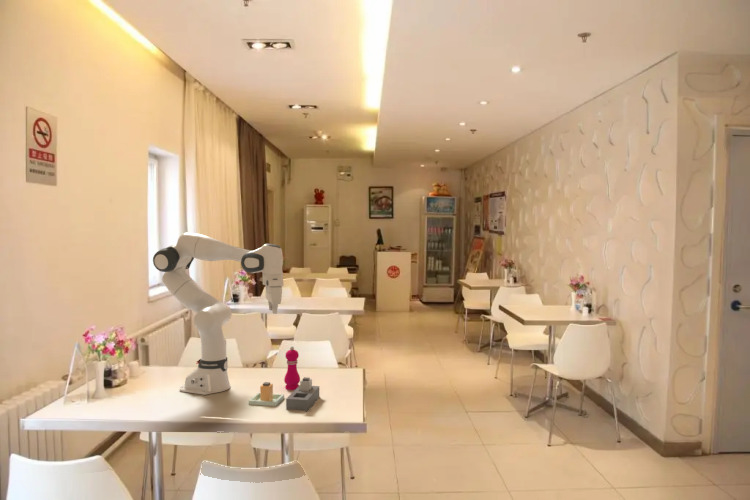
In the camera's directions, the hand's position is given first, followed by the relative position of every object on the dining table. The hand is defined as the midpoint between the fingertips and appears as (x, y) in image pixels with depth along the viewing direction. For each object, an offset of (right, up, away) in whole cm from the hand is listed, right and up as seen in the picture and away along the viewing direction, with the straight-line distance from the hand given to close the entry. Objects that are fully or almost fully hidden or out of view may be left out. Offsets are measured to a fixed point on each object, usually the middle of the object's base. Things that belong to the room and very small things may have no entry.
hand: (273, 311), depth 221 cm
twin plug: (+15, -36, -5) cm, 39 cm away
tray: (-1, -38, -7) cm, 39 cm away
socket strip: (+15, -38, -9) cm, 42 cm away
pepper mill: (+7, -37, +11) cm, 40 cm away
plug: (-1, -37, -7) cm, 38 cm away
